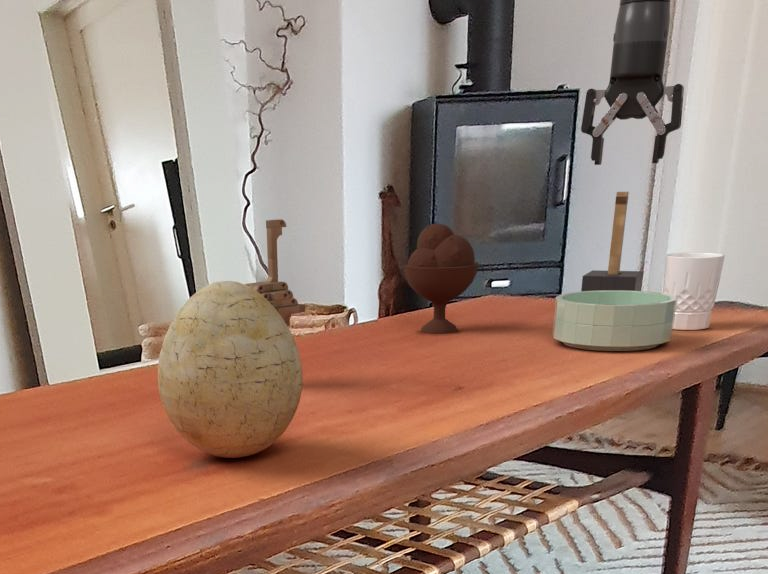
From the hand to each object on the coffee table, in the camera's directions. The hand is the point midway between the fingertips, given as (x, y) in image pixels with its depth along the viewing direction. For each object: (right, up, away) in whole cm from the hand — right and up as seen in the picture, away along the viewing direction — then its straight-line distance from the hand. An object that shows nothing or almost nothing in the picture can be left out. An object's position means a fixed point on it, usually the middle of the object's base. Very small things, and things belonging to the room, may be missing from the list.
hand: (626, 164), depth 149 cm
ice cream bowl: (-29, -27, -2) cm, 39 cm away
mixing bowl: (-8, -32, -15) cm, 37 cm away
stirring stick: (+1, -20, +10) cm, 22 cm away
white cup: (+7, -27, -5) cm, 28 cm away
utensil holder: (+1, -20, +10) cm, 22 cm away
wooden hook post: (-58, -45, -36) cm, 82 cm away
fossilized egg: (-57, -57, -61) cm, 101 cm away
